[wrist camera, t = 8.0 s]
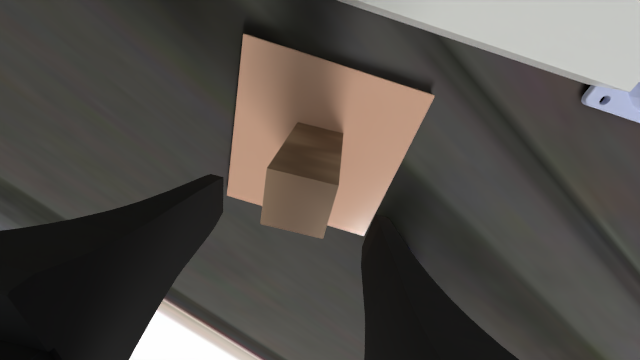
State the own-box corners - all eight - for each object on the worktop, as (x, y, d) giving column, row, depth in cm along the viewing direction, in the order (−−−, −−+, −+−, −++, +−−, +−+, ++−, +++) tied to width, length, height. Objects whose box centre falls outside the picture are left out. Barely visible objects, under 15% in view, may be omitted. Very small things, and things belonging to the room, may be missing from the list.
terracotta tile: (432, 94, 15) (434, 95, 15) (363, 231, 21) (363, 235, 21) (247, 34, 15) (243, 33, 14) (230, 191, 21) (227, 195, 20)
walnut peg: (343, 133, 17) (338, 185, 11) (332, 173, 18) (322, 238, 12) (297, 122, 17) (266, 168, 11) (290, 163, 18) (260, 223, 12)
